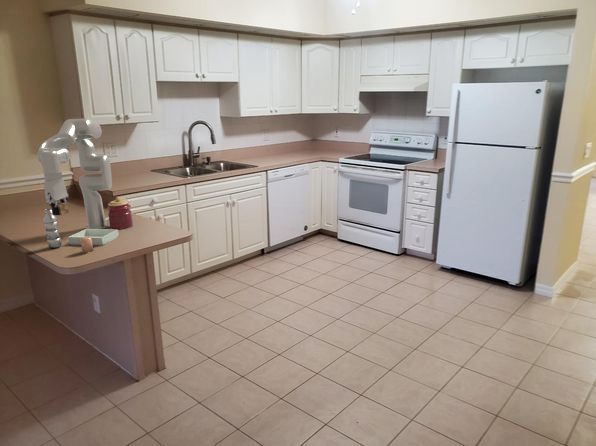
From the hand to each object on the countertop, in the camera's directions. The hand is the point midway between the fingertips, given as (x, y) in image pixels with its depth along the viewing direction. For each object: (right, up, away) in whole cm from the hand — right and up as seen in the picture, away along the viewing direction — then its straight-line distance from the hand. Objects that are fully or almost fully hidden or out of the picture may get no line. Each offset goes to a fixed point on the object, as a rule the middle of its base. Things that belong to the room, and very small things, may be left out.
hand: (60, 212), depth 226 cm
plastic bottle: (-9, -18, +12) cm, 23 cm away
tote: (+7, -14, +21) cm, 27 cm away
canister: (+13, -7, +46) cm, 48 cm away
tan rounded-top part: (+12, -19, +4) cm, 23 cm away
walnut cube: (0, -1, 0) cm, 1 cm away
